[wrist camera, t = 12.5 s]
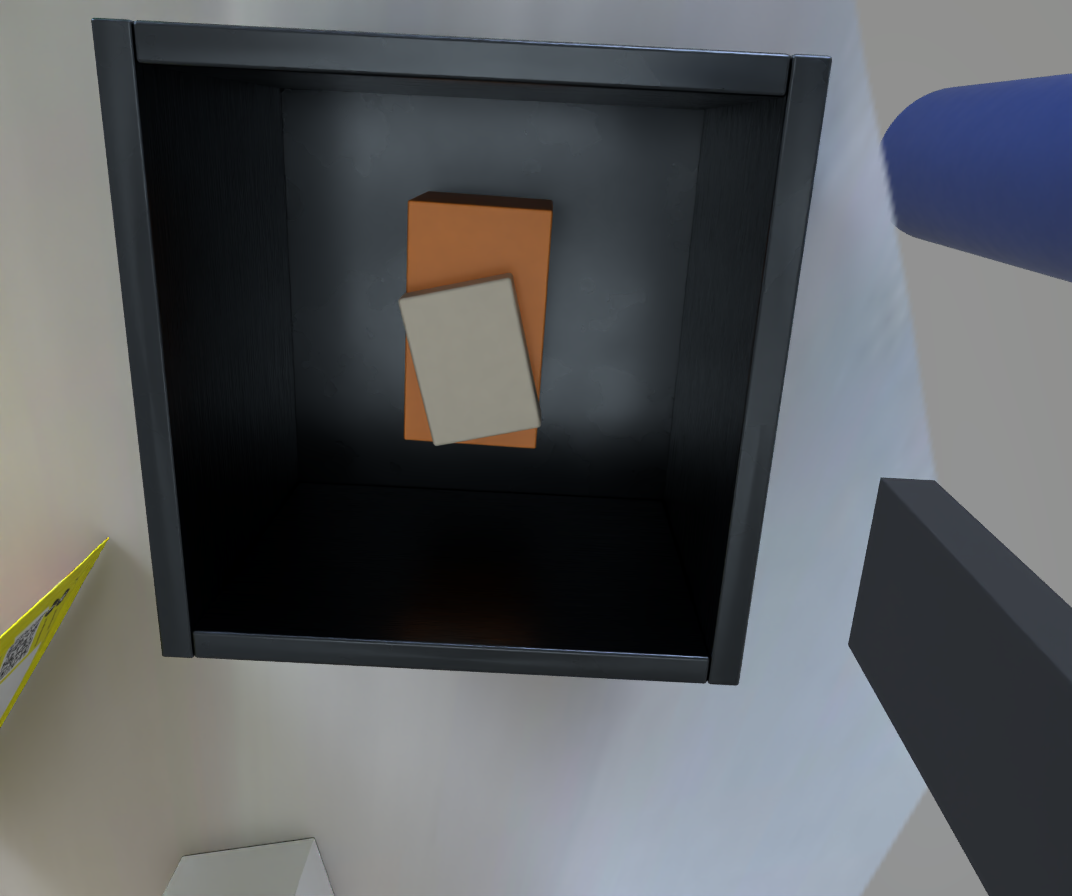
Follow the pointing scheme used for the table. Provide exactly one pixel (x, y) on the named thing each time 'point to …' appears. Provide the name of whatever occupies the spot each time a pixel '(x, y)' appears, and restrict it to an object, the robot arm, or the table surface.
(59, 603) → the food package
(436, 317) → the orange and grey block
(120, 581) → the table surface
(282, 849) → the white cube
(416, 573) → the black open storage box
